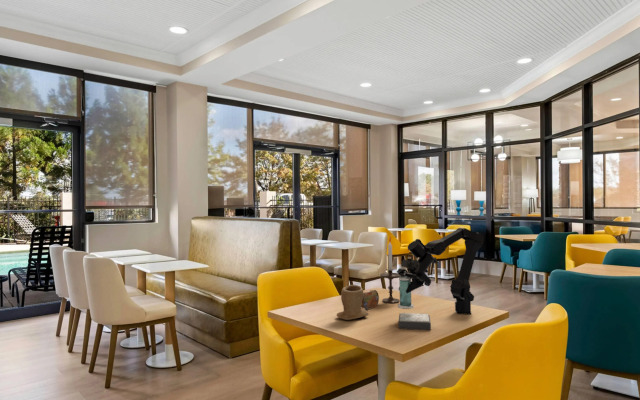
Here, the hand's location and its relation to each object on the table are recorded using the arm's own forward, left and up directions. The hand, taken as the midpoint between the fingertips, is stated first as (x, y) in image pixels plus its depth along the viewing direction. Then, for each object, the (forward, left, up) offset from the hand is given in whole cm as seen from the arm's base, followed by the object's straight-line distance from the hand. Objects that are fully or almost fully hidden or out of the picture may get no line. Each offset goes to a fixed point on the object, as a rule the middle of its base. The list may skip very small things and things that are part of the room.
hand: (402, 291), depth 184 cm
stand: (-5, +4, -13) cm, 15 cm away
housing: (-1, -1, -7) cm, 7 cm away
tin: (+17, -24, -14) cm, 32 cm away
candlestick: (+7, -39, -14) cm, 42 cm away
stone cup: (+22, -3, -14) cm, 26 cm away
